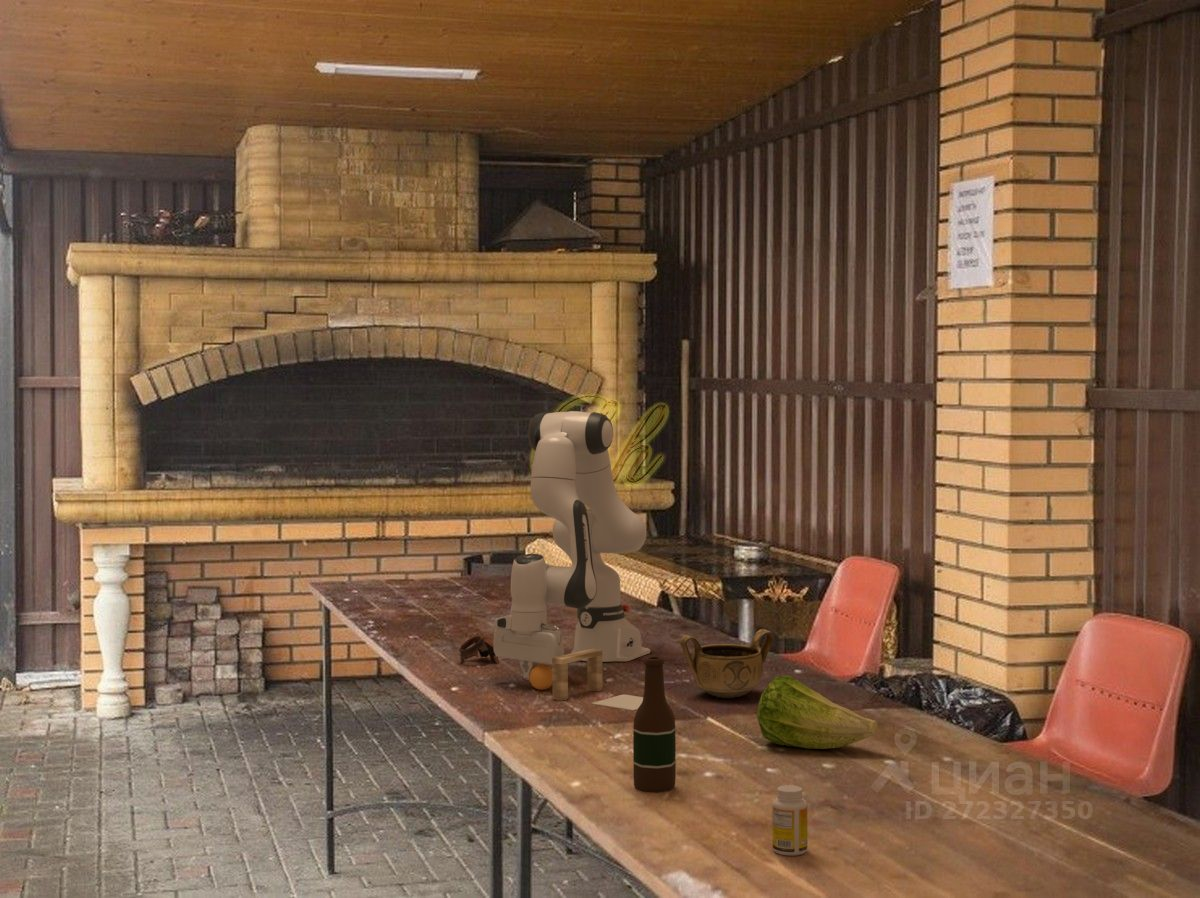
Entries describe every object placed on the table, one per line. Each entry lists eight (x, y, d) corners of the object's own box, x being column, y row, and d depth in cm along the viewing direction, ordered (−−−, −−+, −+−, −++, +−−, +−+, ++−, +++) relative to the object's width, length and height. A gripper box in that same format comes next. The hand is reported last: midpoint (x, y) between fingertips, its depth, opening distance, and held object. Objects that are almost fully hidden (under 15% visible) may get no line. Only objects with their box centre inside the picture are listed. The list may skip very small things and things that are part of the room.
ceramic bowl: (757, 686, 382) (757, 624, 381) (786, 700, 365) (786, 635, 365) (670, 692, 375) (670, 629, 375) (695, 706, 359) (695, 641, 358)
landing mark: (623, 695, 372) (623, 694, 372) (664, 701, 364) (664, 700, 364) (591, 703, 362) (591, 703, 362) (633, 710, 355) (633, 709, 355)
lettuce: (889, 752, 320) (860, 775, 308) (780, 729, 333) (747, 750, 320) (892, 683, 318) (863, 704, 305) (782, 663, 330) (749, 681, 318)
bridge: (552, 699, 368) (552, 657, 367) (592, 688, 380) (592, 648, 379) (562, 700, 366) (562, 659, 365) (602, 690, 378) (602, 649, 377)
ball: (538, 681, 384) (542, 658, 382) (557, 690, 380) (561, 667, 379) (522, 686, 379) (526, 663, 377) (541, 696, 376) (545, 672, 374)
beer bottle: (631, 782, 294) (630, 654, 293) (672, 781, 295) (672, 653, 294) (635, 793, 286) (635, 662, 285) (678, 792, 287) (678, 661, 286)
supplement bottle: (801, 845, 255) (801, 782, 254) (812, 855, 249) (812, 791, 249) (767, 847, 254) (768, 784, 253) (777, 858, 248) (777, 793, 248)
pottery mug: (500, 668, 409) (484, 642, 407) (468, 683, 411) (452, 657, 409) (504, 648, 421) (489, 623, 418) (473, 663, 422) (458, 637, 420)
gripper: (570, 624, 376) (569, 682, 377) (507, 616, 389) (507, 672, 390) (552, 627, 372) (552, 686, 372) (489, 619, 385) (489, 676, 385)
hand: (528, 679), depth 381 cm, fingers closed
